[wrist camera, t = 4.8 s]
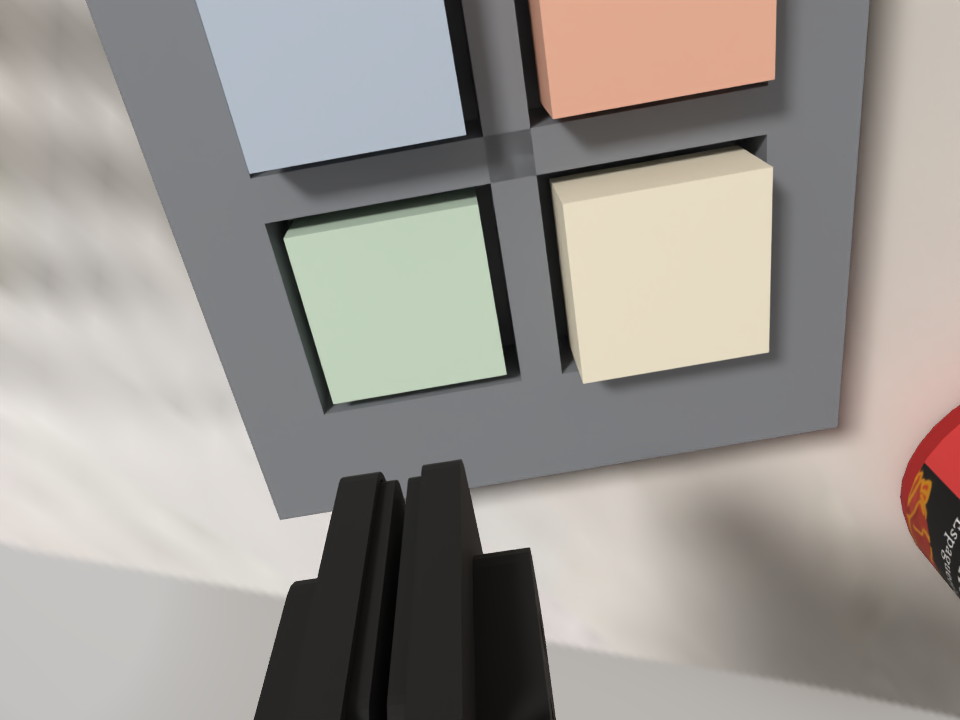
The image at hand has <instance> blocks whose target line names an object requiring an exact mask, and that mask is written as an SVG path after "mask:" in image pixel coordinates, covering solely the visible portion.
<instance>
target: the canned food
mask: <svg viewBox="0 0 960 720" xmlns="http://www.w3.org/2000/svg"><path fill="white" fill-rule="evenodd" d="M900 498H901V504H902V510H903V514H904V517H905V520H906V523H907V526H908V529H909V532H910V534H911V536H912V537H913V539H914V541H915V543H916V545H917V546H918V548H919V549H920V550H921V551H922V553H923V554H924V555H925V556H926V558H927V559H928V560H929V561H930V562H931V564H932V565H933V566H934V567H935V569H936V570H937V571H938V572H939V574H940V575H941V576H942V577H943V578H944V580H945V581H946V582H947V583H948V585H949V586H950V587H951V588H952V590H953V591H954V592H955V593H956V594H957V596H958V597H959V598H960V405H959V406H958V407H956V408H955V409H954V410H952V411H951V412H950V413H949V414H948V415H947V416H945V417H944V418H943V419H942V420H941V421H940V422H939V423H938V424H936V425H935V426H934V427H933V429H932V430H931V431H930V432H929V433H928V435H927V436H926V437H925V438H924V439H923V440H922V442H921V443H920V444H919V446H918V447H917V449H916V451H915V452H914V454H913V456H912V457H911V459H910V461H909V463H908V465H907V468H906V471H905V474H904V477H903V479H902V487H901V496H900Z"/></svg>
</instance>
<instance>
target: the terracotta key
mask: <svg viewBox="0 0 960 720" xmlns="http://www.w3.org/2000/svg"><path fill="white" fill-rule="evenodd" d="M776 5H777V0H528V6H529V15H530V23H531V31H532V39H533V48H534V56H535V64H536V72H537V81H538V89H539V97H540V102H541V104H542V105H543V106H544V108H545V109H546V110H547V112H548V113H549V115H550V116H551V117H552V119H557V118H563V117H568V116H574V115H580V114H585V113H591V112H596V111H602V110H607V109H613V108H618V107H624V106H630V105H635V104H641V103H646V102H652V101H657V100H663V99H669V98H674V97H680V96H685V95H691V94H696V93H702V92H707V91H713V90H719V89H724V88H730V87H735V86H741V85H746V84H752V83H757V82H763V81H769V80H774V79H775V51H776Z"/></svg>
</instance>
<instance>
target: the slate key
mask: <svg viewBox="0 0 960 720" xmlns="http://www.w3.org/2000/svg"><path fill="white" fill-rule="evenodd" d="M196 4H197V7H198V10H199V13H200V16H201V20H202V23H203V26H204V29H205V32H206V36H207V39H208V42H209V45H210V49H211V52H212V55H213V58H214V61H215V65H216V68H217V71H218V74H219V77H220V81H221V84H222V87H223V90H224V93H225V97H226V100H227V103H228V106H229V110H230V113H231V116H232V119H233V122H234V126H235V129H236V132H237V135H238V138H239V142H240V145H241V148H242V151H243V154H244V158H245V161H246V164H247V167H248V171H249V174H251V173H257V172H263V171H268V170H274V169H279V168H285V167H290V166H296V165H302V164H307V163H313V162H318V161H324V160H329V159H335V158H340V157H346V156H352V155H357V154H363V153H368V152H374V151H379V150H385V149H390V148H396V147H402V146H407V145H413V144H418V143H424V142H429V141H435V140H441V139H446V138H452V137H457V136H463V135H466V130H465V124H464V118H463V112H462V106H461V100H460V95H459V89H458V83H457V77H456V71H455V65H454V59H453V53H452V47H451V41H450V35H449V29H448V24H447V18H446V12H445V6H444V0H196Z"/></svg>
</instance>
